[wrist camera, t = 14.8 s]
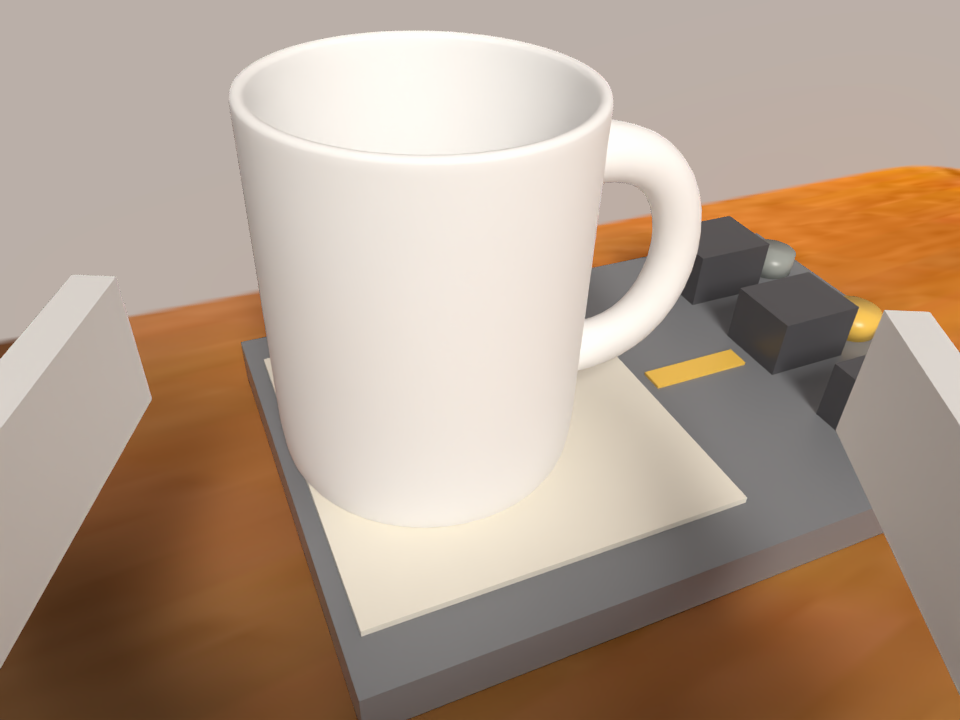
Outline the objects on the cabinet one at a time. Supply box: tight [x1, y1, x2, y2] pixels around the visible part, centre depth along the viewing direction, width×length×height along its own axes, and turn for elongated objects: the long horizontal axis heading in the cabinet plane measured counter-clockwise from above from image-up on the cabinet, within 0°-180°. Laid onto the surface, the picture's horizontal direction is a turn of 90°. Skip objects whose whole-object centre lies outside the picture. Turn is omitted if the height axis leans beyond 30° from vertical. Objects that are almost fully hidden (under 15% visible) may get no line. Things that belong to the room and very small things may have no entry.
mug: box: [229, 31, 702, 528], centre depth 21 cm, size 12×8×10 cm
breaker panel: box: [241, 216, 884, 720], centre depth 26 cm, size 22×14×4 cm, turn 113°
